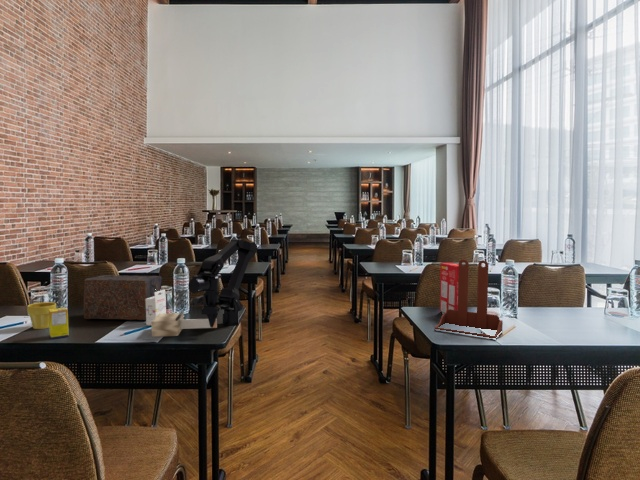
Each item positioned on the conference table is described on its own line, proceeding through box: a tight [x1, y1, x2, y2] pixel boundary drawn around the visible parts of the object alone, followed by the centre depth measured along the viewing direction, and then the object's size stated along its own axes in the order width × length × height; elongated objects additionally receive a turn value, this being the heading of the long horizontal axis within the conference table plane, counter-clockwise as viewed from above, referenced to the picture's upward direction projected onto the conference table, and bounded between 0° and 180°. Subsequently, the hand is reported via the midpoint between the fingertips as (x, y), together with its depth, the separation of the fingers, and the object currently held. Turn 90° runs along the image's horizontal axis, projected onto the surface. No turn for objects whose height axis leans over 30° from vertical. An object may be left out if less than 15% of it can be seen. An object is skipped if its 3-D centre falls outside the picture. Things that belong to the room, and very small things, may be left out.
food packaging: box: [439, 262, 459, 313], centre depth 209 cm, size 15×5×25 cm, turn 13°
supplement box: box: [48, 306, 70, 340], centre depth 169 cm, size 6×6×11 cm
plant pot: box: [26, 301, 57, 330], centre depth 183 cm, size 10×10×10 cm
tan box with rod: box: [151, 310, 185, 338], centre depth 178 cm, size 10×14×7 cm
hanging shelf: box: [434, 258, 504, 338], centre depth 179 cm, size 24×13×30 cm, turn 56°
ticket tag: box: [181, 318, 218, 330], centre depth 179 cm, size 16×1×4 cm, turn 99°
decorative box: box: [83, 274, 162, 321], centre depth 202 cm, size 31×20×20 cm
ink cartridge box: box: [145, 288, 167, 326], centre depth 191 cm, size 9×5×15 cm, turn 168°
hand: (211, 326), depth 180 cm, fingers closed on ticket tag
